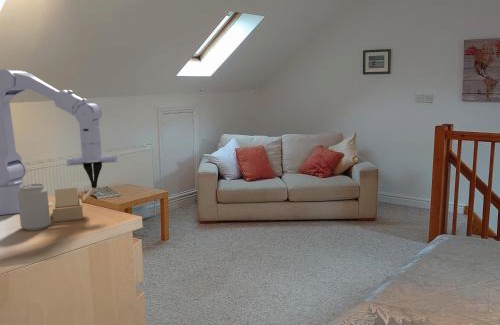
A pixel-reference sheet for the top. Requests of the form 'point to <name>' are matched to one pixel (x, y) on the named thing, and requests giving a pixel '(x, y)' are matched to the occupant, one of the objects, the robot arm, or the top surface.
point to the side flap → (88, 193)
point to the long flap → (66, 197)
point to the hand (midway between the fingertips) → (94, 187)
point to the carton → (67, 212)
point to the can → (33, 207)
